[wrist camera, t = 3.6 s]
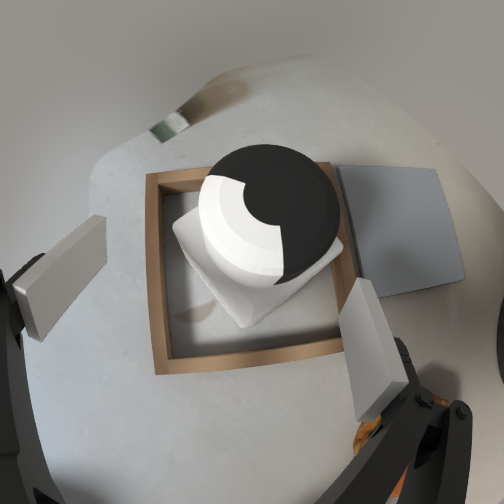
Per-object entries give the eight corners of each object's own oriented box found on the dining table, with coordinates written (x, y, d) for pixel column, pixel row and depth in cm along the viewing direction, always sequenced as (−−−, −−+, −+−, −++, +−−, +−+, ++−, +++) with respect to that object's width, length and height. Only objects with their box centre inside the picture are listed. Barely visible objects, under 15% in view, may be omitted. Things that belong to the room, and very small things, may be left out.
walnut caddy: (323, 173, 26) (329, 162, 24) (354, 345, 22) (365, 346, 20) (151, 185, 24) (145, 174, 22) (161, 371, 21) (155, 374, 19)
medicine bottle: (256, 203, 25) (281, 103, 13) (313, 271, 24) (389, 215, 12) (184, 255, 23) (149, 181, 11) (242, 330, 22) (262, 327, 10)
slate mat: (432, 171, 28) (435, 169, 27) (462, 279, 25) (465, 279, 24) (336, 168, 26) (338, 165, 26) (365, 300, 23) (367, 299, 23)
